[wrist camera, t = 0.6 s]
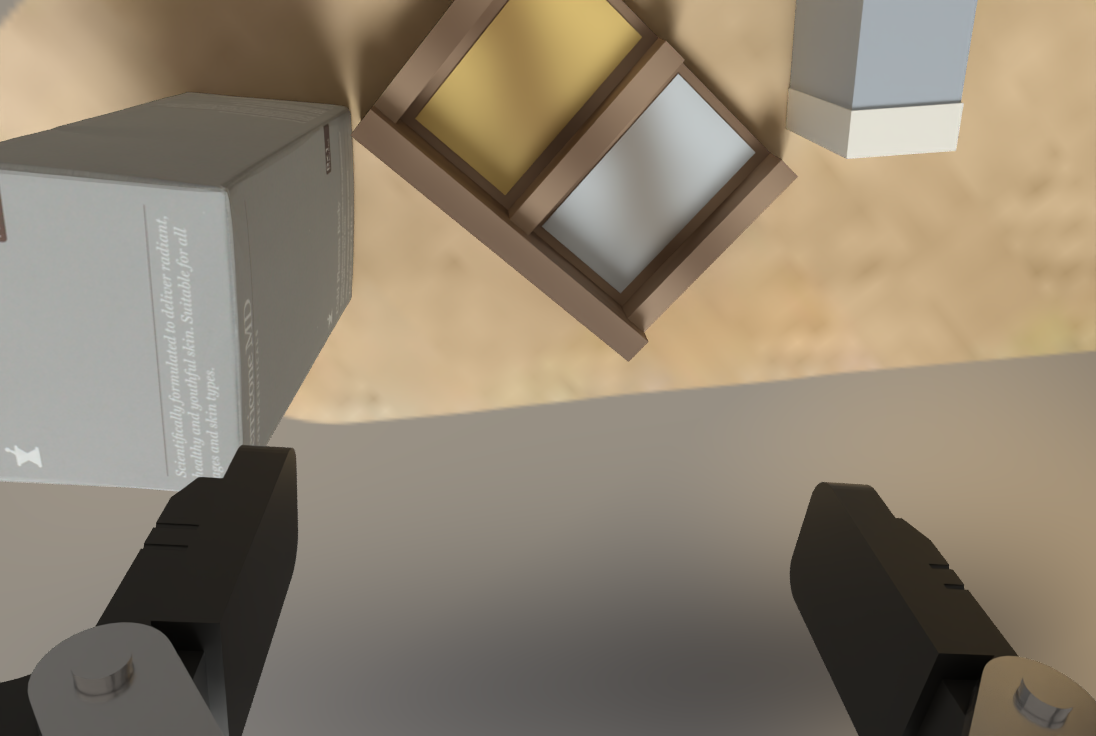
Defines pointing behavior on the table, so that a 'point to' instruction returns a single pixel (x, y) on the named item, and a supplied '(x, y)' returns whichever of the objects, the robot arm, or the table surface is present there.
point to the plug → (879, 74)
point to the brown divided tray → (575, 154)
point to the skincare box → (167, 284)
